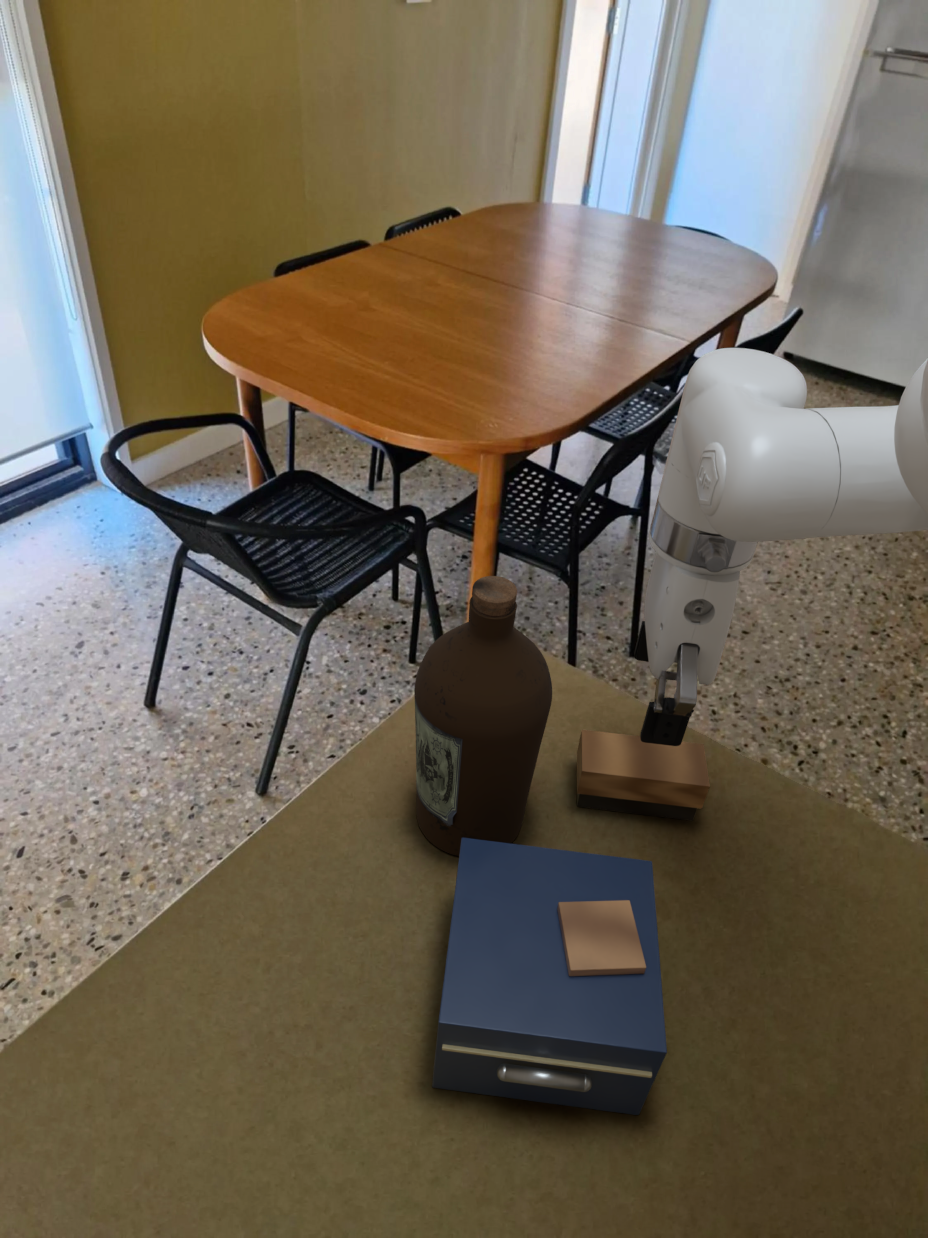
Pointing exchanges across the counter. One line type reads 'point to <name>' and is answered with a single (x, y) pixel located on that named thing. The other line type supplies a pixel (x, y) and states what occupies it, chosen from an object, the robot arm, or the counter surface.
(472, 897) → the blue drawer box
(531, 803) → the counter surface
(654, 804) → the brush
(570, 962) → the coaster
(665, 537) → the robot arm
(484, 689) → the olive oil
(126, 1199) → the counter surface
